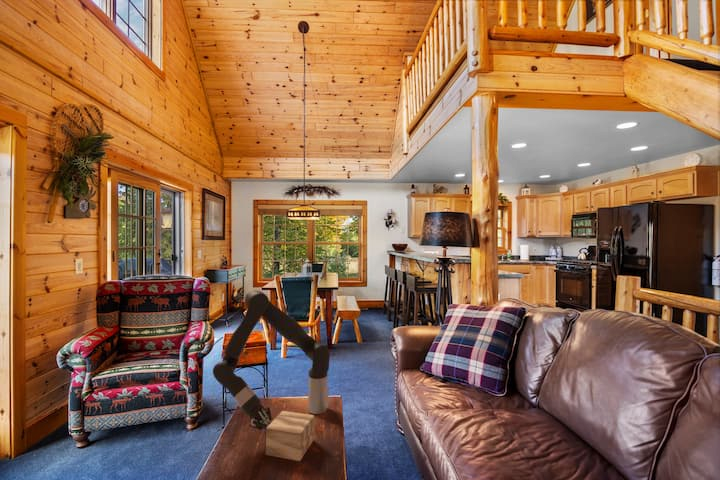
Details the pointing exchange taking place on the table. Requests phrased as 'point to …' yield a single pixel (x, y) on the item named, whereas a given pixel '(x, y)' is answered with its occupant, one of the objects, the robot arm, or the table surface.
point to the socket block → (289, 435)
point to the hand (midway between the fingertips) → (273, 433)
